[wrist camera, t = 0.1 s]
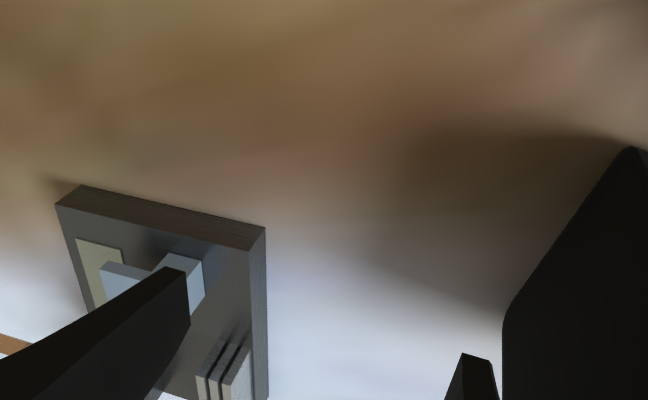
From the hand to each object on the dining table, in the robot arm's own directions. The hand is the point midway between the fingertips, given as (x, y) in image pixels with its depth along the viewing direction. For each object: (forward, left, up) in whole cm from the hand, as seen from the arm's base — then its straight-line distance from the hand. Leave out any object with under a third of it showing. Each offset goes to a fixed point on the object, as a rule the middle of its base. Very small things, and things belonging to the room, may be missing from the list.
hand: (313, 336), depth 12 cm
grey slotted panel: (-12, +11, -10) cm, 19 cm away
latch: (-8, +10, -8) cm, 15 cm away
